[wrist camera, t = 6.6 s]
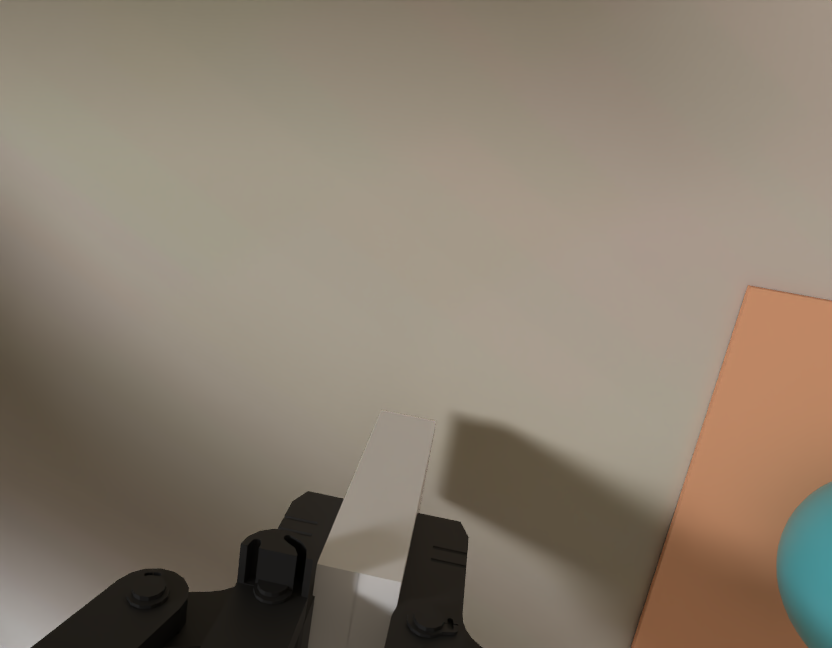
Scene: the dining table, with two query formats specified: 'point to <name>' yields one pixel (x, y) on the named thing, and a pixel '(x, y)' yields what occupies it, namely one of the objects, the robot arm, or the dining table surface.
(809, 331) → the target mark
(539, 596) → the dining table surface
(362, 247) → the dining table surface
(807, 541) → the ball
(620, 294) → the dining table surface
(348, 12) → the dining table surface
